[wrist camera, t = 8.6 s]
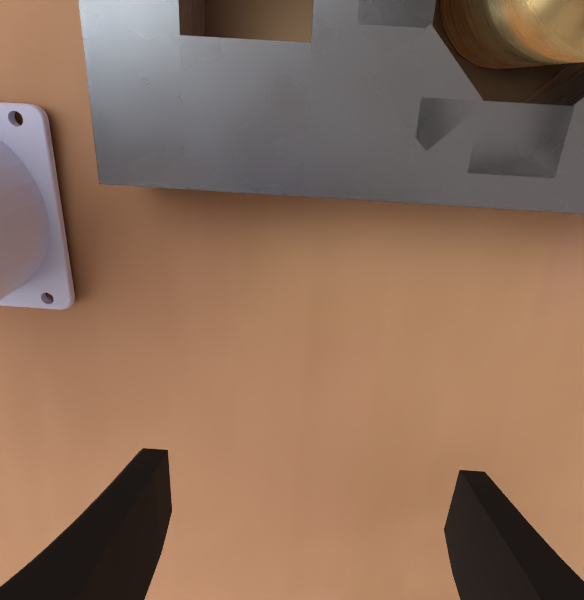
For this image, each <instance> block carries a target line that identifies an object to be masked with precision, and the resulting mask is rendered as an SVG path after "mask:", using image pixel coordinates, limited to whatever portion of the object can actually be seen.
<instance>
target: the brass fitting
mask: <svg viewBox="0 0 584 600" xmlns="http://www.w3.org/2000/svg"><path fill="white" fill-rule="evenodd" d="M440 9H441V18H442V23H443V26H444V29H445V32H446V35H447V37H448V39H449V41H450V42H451V44H452V45H453V47H454V48H455V49H456V50H457V52H458V53H459V54H460V55H462V56H463V57H464V58H465V59H466V60H468V61H470V62H472V63H473V64H476V65H478V66H481V67H485V68H490V69H505V68H518V67H530V66H543V65H555V64H568V63H580V62H584V0H440Z"/></svg>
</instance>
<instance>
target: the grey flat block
mask: <svg viewBox="0 0 584 600" xmlns="http://www.w3.org/2000/svg"><path fill="white" fill-rule="evenodd" d="M435 5H436V0H314V4H313V20H312V36H311V43H309V42H291V41H274V40H256V39H238V38H221V37H206V34H205V0H79V9H80V18H81V27H82V36H83V44H84V53H85V62H86V71H87V80H88V88H89V97H90V106H91V115H92V124H93V133H94V141H95V150H96V159H97V168H98V177H99V184H106V185H123V186H139V187H155V188H172V189H188V190H204V191H220V192H237V193H253V194H269V195H286V196H302V197H318V198H334V199H351V200H367V201H383V202H400V203H416V204H432V205H449V206H465V207H481V208H497V209H514V210H530V211H546V212H563V213H579V214H584V62H580V63H570V64H568V65H567V66H566V67H565V68H563V69H562V70H561V71H560V72H559V73H557V74H556V75H555V76H554V77H552V78H551V79H550V80H549V81H547V82H546V83H545V84H544V85H543V86H541V87H540V88H539V89H538V90H536V91H535V92H534V93H533V94H531V95H530V96H529V97H528V98H527V99H525V100H524V101H523V102H518V101H501V100H484V99H482V97H481V96H480V95H479V93H478V92H477V90H476V89H475V87H474V86H473V84H472V83H471V81H470V80H469V79H468V77H467V76H466V74H465V73H464V71H463V70H462V68H461V67H460V65H459V64H458V63H457V61H456V60H455V58H454V57H453V55H452V54H451V52H450V51H449V49H448V48H447V47H446V45H445V44H444V42H443V41H442V39H441V38H440V36H439V35H438V33H437V32H436V30H435V29H434V28H433V26H432V24H433V18H434V11H435Z"/></svg>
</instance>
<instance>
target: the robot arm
mask: <svg viewBox="0 0 584 600" xmlns="http://www.w3.org/2000/svg"><path fill="white" fill-rule="evenodd" d="M16 111H17V112H19V113H20V114H21V115H22V118H23V124H22V125H19V124H18V123H17V122H16V120H15V118H14V117H15V113H16ZM46 293H49V294H51V295H52V296H53V299H54V300H50V299H49V298H47V296H46ZM74 301H75V294H74V287H73V280H72V274H71V267H70V260H69V253H68V247H67V240H66V233H65V227H64V220H63V213H62V206H61V200H60V193H59V186H58V180H57V173H56V166H55V159H54V153H53V146H52V139H51V133H50V126H49V119H48V116H47V114H46V112H45V111H44V110H43V109H42V108H41V107H39V106H38V105H35V104H25V103H8V102H0V306H13V307H29V308H44V309H59V310H63V309H67V308H69V307H70V306H71V305H72V304H73V303H74ZM171 513H172V503H171V489H170V475H169V461H168V450H159V449H145V448H143V449H142V450H141V451H139V453H138V454H137V455H136V456H135V457H134V458H133V459H132V460H131V462H130V463H129V464H128V465H127V466H126V467H125V468H124V470H123V471H122V472H121V473H120V474H119V475H118V476H117V477H116V478H115V479H114V481H113V482H112V483H111V484H110V485H109V486H108V487H107V488H106V489H105V490H104V491H103V492H102V494H101V495H100V496H99V497H98V498H97V499H96V500H95V501H94V502H93V503H92V504H91V505H90V506H89V507H88V508H87V509H86V510H85V511H84V512H83V513H82V514H81V515H80V516H79V517H78V518H77V519H76V520H75V521H74V522H73V523H72V524H71V525H70V526H69V527H68V528H67V529H66V530H65V531H64V532H62V533H61V534H60V535H59V536H58V537H57V538H56V539H55V540H54V541H53V542H52V543H51V544H50V545H49V546H48V547H47V548H45V549H44V550H43V551H42V552H41V553H40V554H39V555H38V556H36V557H35V558H34V559H33V560H32V561H31V562H30V563H28V564H27V565H26V566H25V567H24V568H23V569H21V570H20V571H19V572H18V573H17V574H15V575H14V576H13V577H12V578H11V579H9V580H8V581H7V582H6V583H5V584H3V585H2V586H1V587H0V600H144V599H145V596H146V594H147V591H148V588H149V585H150V583H151V580H152V577H153V575H154V572H155V569H156V566H157V564H158V561H159V558H160V555H161V552H162V549H163V545H164V541H165V537H166V533H167V529H168V525H169V521H170V517H171ZM444 532H445V537H446V543H447V548H448V554H449V558H450V563H451V568H452V573H453V576H454V580H455V583H456V586H457V590H458V593H459V596H460V599H461V600H584V581H583V580H582V579H581V578H580V577H579V576H578V575H577V574H576V573H575V572H574V571H573V570H572V569H571V568H570V567H569V566H568V565H567V564H566V563H565V562H564V561H563V560H562V559H561V558H560V557H559V556H558V555H557V553H556V552H555V551H554V550H553V549H552V548H551V547H550V546H549V545H548V544H547V543H546V541H545V540H544V539H543V538H542V537H541V536H540V535H539V534H538V533H537V532H536V531H535V529H534V528H533V527H532V526H531V525H530V524H529V523H528V521H527V520H526V519H525V518H524V517H523V516H522V515H521V513H520V512H519V511H518V510H517V509H516V508H515V506H514V505H513V504H512V503H511V502H510V501H509V499H508V498H507V497H506V496H505V495H504V494H503V493H502V491H501V490H500V489H499V488H498V487H497V485H496V484H495V483H494V482H493V481H492V480H491V479H490V477H489V476H488V475H487V474H486V473H485V472H480V471H466V470H460V471H459V474H458V478H457V482H456V486H455V490H454V494H453V497H452V501H451V505H450V509H449V513H448V517H447V520H446V524H445V528H444Z"/></svg>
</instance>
